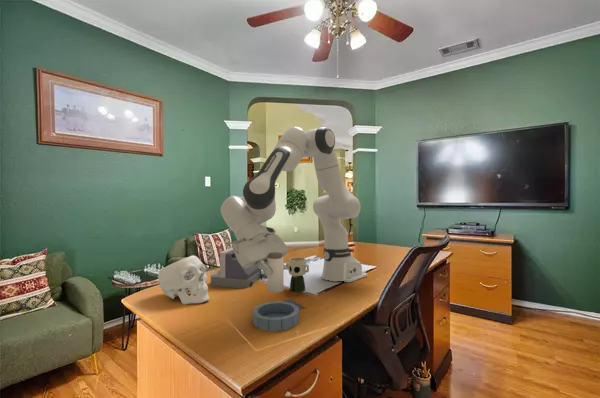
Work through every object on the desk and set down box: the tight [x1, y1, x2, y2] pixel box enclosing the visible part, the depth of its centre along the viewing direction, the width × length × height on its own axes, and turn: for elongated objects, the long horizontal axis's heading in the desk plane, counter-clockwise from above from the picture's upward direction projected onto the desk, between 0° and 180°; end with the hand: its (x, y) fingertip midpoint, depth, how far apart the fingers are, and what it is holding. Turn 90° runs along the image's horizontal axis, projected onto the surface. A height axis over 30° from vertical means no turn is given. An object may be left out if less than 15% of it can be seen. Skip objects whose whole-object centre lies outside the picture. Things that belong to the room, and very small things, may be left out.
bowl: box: [252, 300, 300, 332], centre depth 87 cm, size 14×14×4 cm
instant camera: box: [210, 247, 264, 289], centre depth 131 cm, size 21×21×15 cm
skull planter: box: [157, 254, 210, 305], centre depth 109 cm, size 14×20×19 cm
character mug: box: [285, 256, 310, 292], centre depth 116 cm, size 11×7×13 cm, turn 59°
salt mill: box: [266, 252, 285, 294], centre depth 87 cm, size 5×5×11 cm
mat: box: [282, 298, 306, 311], centre depth 99 cm, size 10×10×1 cm
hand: (277, 271), depth 87 cm, fingers closed on salt mill, 5 cm apart
